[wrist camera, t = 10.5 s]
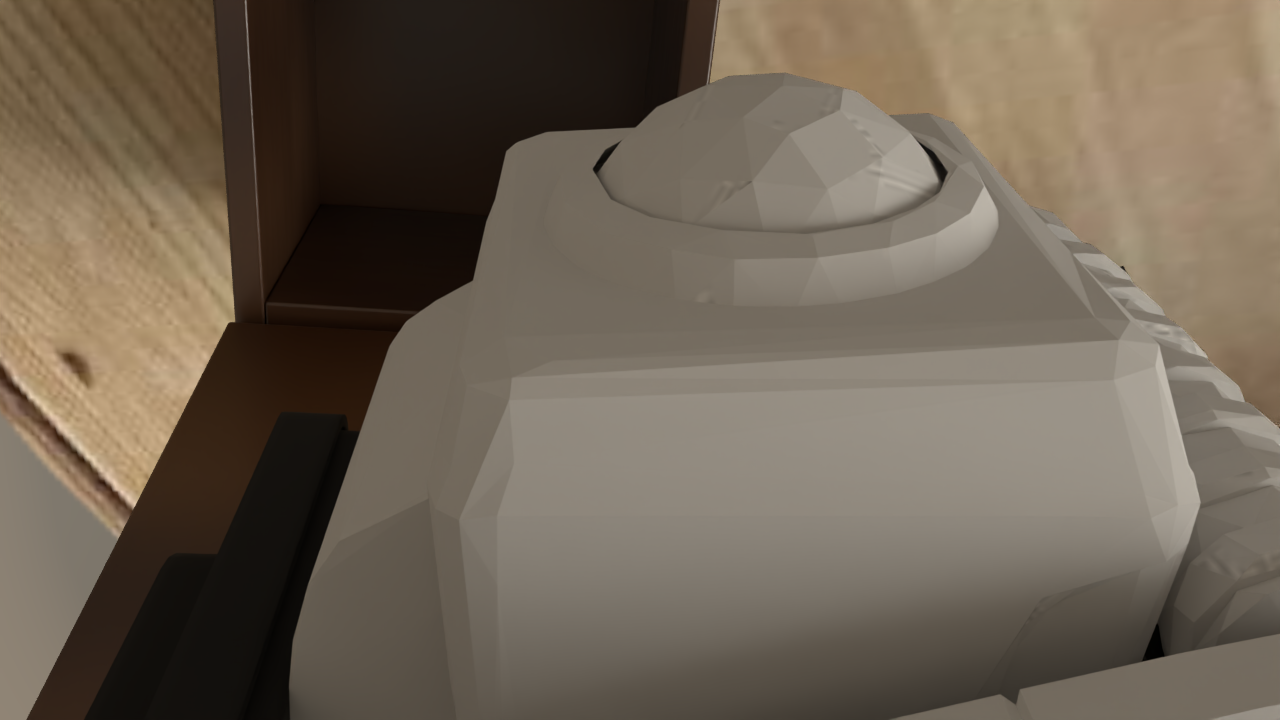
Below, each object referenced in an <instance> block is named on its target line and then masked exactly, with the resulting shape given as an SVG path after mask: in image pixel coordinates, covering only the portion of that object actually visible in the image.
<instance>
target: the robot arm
mask: <svg viewBox="0 0 1280 720" xmlns="http://www.w3.org/2000/svg"><path fill="white" fill-rule="evenodd" d="M359 434H360V431H351V430H349V428H348V421H347V417H346V415H345V414H327V413H306V412H285V411H284V412H281V413H280V415H279V417H278V418H277V421H276V423H275V425H274V427H273V430H272V432H271V434H270V436H269V439H268V441H267V443H266V445H265V448H264V450H263V452H262V454H261V457H260V459H259V461H258V463H257V466H256V468H255V470H254V472H253V475H252V477H251V479H250V481H249V484H248V486H247V488H246V491H245V493H244V495H243V497H242V500H241V502H240V504H239V506H238V509H237V511H236V513H235V515H234V518H233V520H232V522H231V524H230V527H229V529H228V531H227V533H226V536H225V538H224V540H223V542H222V545H221V547H220V549H219V551H218V554H195V553H175V554H173V555H171V556H169V557H168V558H167V560H166V561H165V563H164V564H163V566H162V567H161V569H160V571H159V573H158V575H157V577H156V579H155V581H154V583H153V585H152V587H151V589H150V590H149V592H148V594H147V596H146V598H145V600H144V602H143V604H142V606H141V608H140V610H139V612H138V614H137V616H136V618H135V620H134V622H133V624H132V626H131V628H130V630H129V632H128V634H127V636H126V638H125V640H124V642H123V644H122V646H121V648H120V650H119V652H118V653H117V655H116V657H115V659H114V661H113V663H112V665H111V667H110V669H109V671H108V673H107V675H106V677H105V679H104V681H103V683H102V685H101V687H100V689H99V691H98V693H97V695H96V697H95V699H94V701H93V703H92V705H91V707H90V709H89V711H88V713H87V715H86V716H85V718H84V720H290V699H289V680H290V668H291V657H292V645H293V638H294V634H295V631H296V627H297V623H298V620H299V616H300V612H301V609H302V605H303V601H304V598H305V594H306V590H307V587H308V584H309V581H310V578H311V575H312V572H313V569H314V566H315V563H316V560H317V557H318V554H319V551H320V548H321V545H322V543H323V540H324V537H325V534H326V531H327V528H328V525H329V522H330V519H331V516H332V513H333V510H334V507H335V504H336V501H337V499H338V496H339V493H340V490H341V487H342V484H343V481H344V478H345V475H346V472H347V469H348V466H349V463H350V460H351V457H352V455H353V452H354V449H355V446H356V443H357V440H358V437H359ZM1142 662H1144V660H1143V659H1142Z"/></svg>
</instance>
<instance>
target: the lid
mask: <svg viewBox="0 0 1280 720" xmlns="http://www.w3.org/2000/svg"><path fill="white" fill-rule="evenodd" d="M398 333H399V332H387V331H370V330H353V329H337V328H320V327H303V326H287V325H270V324H253V323H237V322H229V323H228V325H227V327H226V329H225V331H224V333H223V335H222V337H221V339H220V340H219V342H218V344H217V346H216V348H215V350H214V352H213V354H212V356H211V358H210V360H209V362H208V364H207V366H206V368H205V370H204V372H203V374H202V376H201V378H200V380H199V382H198V384H197V386H196V388H195V390H194V392H193V394H192V395H191V397H190V399H189V401H188V403H187V405H186V407H185V409H184V411H183V413H182V415H181V417H180V419H179V421H178V423H177V425H176V427H175V429H174V431H173V433H172V435H171V437H170V439H169V441H168V443H167V445H166V447H165V449H164V450H163V452H162V454H161V456H160V458H159V460H158V462H157V464H156V466H155V468H154V470H153V472H152V474H151V476H150V478H149V480H148V482H147V484H146V486H145V488H144V490H143V492H142V494H141V496H140V498H139V500H138V502H137V504H136V506H135V507H134V509H133V511H132V513H131V515H130V517H129V519H128V521H127V523H126V525H125V527H124V529H123V531H122V533H121V535H120V537H119V539H118V541H117V543H116V545H115V547H114V549H113V551H112V553H111V555H110V557H109V559H108V561H107V562H106V564H105V566H104V569H103V570H102V573H101V574H100V576H99V578H98V580H97V582H96V584H95V586H94V588H93V590H92V592H91V594H90V596H89V598H88V600H87V602H86V604H85V606H84V608H83V610H82V612H81V614H80V616H79V617H78V620H77V622H76V624H75V625H74V627H73V629H72V631H71V633H70V635H69V637H68V639H67V641H66V643H65V645H64V647H63V649H62V651H61V653H60V655H59V657H58V659H57V661H56V663H55V665H54V667H53V669H52V671H51V673H50V675H49V676H48V679H47V680H46V683H45V685H44V686H43V688H42V690H41V692H40V694H39V696H38V698H37V700H36V702H35V704H34V706H33V708H32V710H31V712H30V714H29V716H28V718H27V720H84V718H85V716H86V715H87V713H88V711H89V709H90V707H91V705H92V703H93V701H94V699H95V697H96V695H97V693H98V691H99V689H100V687H101V685H102V683H103V681H104V679H105V677H106V675H107V673H108V671H109V669H110V667H111V665H112V663H113V661H114V659H115V657H116V655H117V653H118V652H119V650H120V648H121V646H122V644H123V642H124V640H125V638H126V636H127V634H128V632H129V630H130V628H131V626H132V624H133V622H134V620H135V618H136V616H137V614H138V612H139V610H140V608H141V606H142V604H143V602H144V600H145V598H146V596H147V594H148V592H149V590H150V589H151V587H152V585H153V583H154V581H155V579H156V577H157V575H158V573H159V571H160V569H161V567H162V566H163V564H164V563H165V561H166V560H167V558H168V557H169V556H171V555H173V554H175V553H195V554H218V551H219V549H220V547H221V545H222V542H223V540H224V538H225V536H226V533H227V531H228V529H229V527H230V524H231V522H232V520H233V518H234V515H235V513H236V511H237V509H238V506H239V504H240V502H241V500H242V497H243V495H244V493H245V491H246V488H247V486H248V484H249V481H250V479H251V477H252V475H253V472H254V470H255V468H256V466H257V463H258V461H259V459H260V457H261V454H262V452H263V450H264V448H265V445H266V443H267V441H268V439H269V436H270V434H271V432H272V430H273V427H274V425H275V423H276V421H277V418H278V417H279V415H280V413H281V412H284V411H285V412H306V413H327V414H345V415H346V417H347V421H348V428H349V430H351V431H361V428H362V425H363V422H364V419H365V416H366V413H367V411H368V408H369V405H370V402H371V399H372V396H373V393H374V390H375V387H376V384H377V381H378V378H379V375H380V372H381V370H382V367H383V364H384V361H385V358H386V355H387V352H388V349H389V346H390V344H391V343H392V342H393V340H394V339H395V337H396V336H397V334H398Z"/></svg>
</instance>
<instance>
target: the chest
mask: <svg viewBox="0 0 1280 720" xmlns="http://www.w3.org/2000/svg"><path fill="white" fill-rule="evenodd" d="M719 4H720V0H213V5H214V20H215V34H216V49H217V63H218V78H219V92H220V107H221V121H222V136H223V150H224V164H225V179H226V193H227V208H228V222H229V237H230V251H231V266H232V280H233V295H234V309H235V322H237V323H253V324H270V325H287V326H303V327H320V328H337V329H353V330H370V331H387V332H399V331H400V330H401V328H402V327H403V325H404V324H405V323H406V321H408V320H409V319H410V318H412V317H413V316H415V315H416V314H418V313H419V312H420V311H422V310H423V309H425V308H426V307H428V306H429V305H431V304H432V303H433V302H435V301H436V300H438V299H440V298H442V297H444V296H446V295H447V294H449V293H451V292H453V291H455V290H457V289H459V288H460V287H462V286H464V285H466V284H468V283H470V282H471V281H473V279H474V274H475V270H476V265H477V261H478V257H479V252H480V248H481V243H482V239H483V234H484V230H485V226H486V221H487V219H488V216H489V214H490V211H491V209H492V206H493V203H494V201H495V198H496V194H497V189H498V185H499V181H500V176H501V172H502V168H503V163H504V159H505V155H506V151H507V150H508V149H510V148H511V147H512V146H513V145H514V144H515V143H517V142H519V141H522V140H525V139H528V138H531V137H534V136H537V135H540V134H542V133H545V132H557V131H578V130H598V129H618V128H636V127H637V126H638V125H639V124H640V123H641V122H642V121H643V120H644V119H645V118H646V117H647V116H648V115H649V114H650V113H651V112H652V111H653V110H654V109H655V108H656V107H658V106H660V105H663V104H665V103H667V102H669V101H671V100H674V99H676V98H678V97H680V96H683V95H685V94H687V93H689V92H692V91H694V90H696V89H698V88H701V87H703V86H705V85H708V84H709V82H710V75H711V67H712V59H713V51H714V43H715V36H716V28H717V20H718V12H719Z"/></svg>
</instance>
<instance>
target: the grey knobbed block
mask: <svg viewBox="0 0 1280 720" xmlns="http://www.w3.org/2000/svg"><path fill="white" fill-rule="evenodd" d="M1142 659H1143V660H1144V662H1142ZM289 699H290V720H1280V428H1279V427H1278V426H1276V425H1275V424H1274V423H1273V422H1272V421H1271V420H1269V419H1268V418H1267V417H1266V416H1265V415H1264V414H1262V413H1261V412H1260V411H1259V410H1258V409H1257V408H1255V407H1254V406H1253V405H1252V404H1251V403H1246V402H1245V400H1244V398H1243V395H1242V393H1241V390H1240V387H1239V386H1238V385H1237V384H1236V383H1235V382H1234V381H1232V380H1231V379H1230V378H1229V377H1228V376H1227V375H1225V374H1224V373H1223V372H1222V371H1221V370H1219V369H1218V368H1217V367H1216V366H1215V365H1213V364H1212V363H1211V362H1210V361H1209V360H1208V358H1207V355H1206V354H1205V353H1204V352H1203V350H1202V349H1201V348H1200V347H1199V346H1198V345H1197V344H1196V343H1195V342H1194V341H1193V340H1192V338H1191V337H1190V336H1189V335H1188V334H1187V333H1186V332H1185V331H1184V330H1183V329H1182V328H1181V327H1180V326H1179V325H1177V324H1176V323H1174V322H1173V321H1171V320H1170V319H1169V318H1167V317H1166V316H1165V314H1164V311H1163V309H1162V308H1161V307H1160V306H1159V305H1158V304H1157V303H1156V302H1155V301H1153V300H1152V299H1151V298H1150V297H1149V296H1148V295H1146V294H1145V293H1144V292H1143V291H1142V290H1141V289H1140V288H1138V287H1137V286H1136V285H1135V284H1134V283H1133V282H1132V280H1131V278H1130V276H1129V275H1128V274H1127V272H1126V270H1125V268H1124V266H1121V267H1119V266H1118V265H1117V264H1115V263H1114V262H1113V261H1112V260H1110V259H1109V258H1108V257H1107V256H1106V255H1105V254H1103V253H1102V252H1101V251H1099V250H1098V249H1097V248H1095V247H1094V246H1092V245H1091V244H1087V243H1082V242H1081V241H1080V240H1079V239H1078V238H1077V237H1076V235H1075V234H1074V233H1073V232H1072V231H1071V230H1070V229H1069V228H1068V227H1067V226H1066V225H1065V224H1064V223H1063V222H1062V221H1061V220H1060V219H1059V218H1058V217H1057V216H1056V215H1055V214H1054V213H1053V212H1049V211H1046V210H1043V209H1039V208H1036V207H1033V206H1030V205H1028V204H1027V203H1026V202H1025V201H1024V200H1023V199H1022V198H1021V197H1020V195H1019V194H1018V193H1017V192H1016V191H1015V190H1014V189H1013V188H1012V187H1011V186H1010V184H1009V183H1008V182H1007V181H1006V180H1005V179H1004V178H1003V177H1002V176H1001V175H1000V173H999V172H998V171H997V170H996V169H995V168H994V167H993V166H992V165H991V163H990V162H989V161H988V160H987V159H986V158H985V157H984V156H983V155H982V154H981V152H980V151H979V150H978V149H977V148H976V147H975V146H974V145H973V144H972V143H971V141H970V140H969V139H968V138H967V137H966V136H965V135H964V134H963V133H962V132H961V130H960V129H959V128H958V127H957V126H956V125H955V124H954V123H953V122H951V121H948V120H945V119H943V118H940V117H937V116H934V115H932V114H929V113H923V114H903V115H887V114H886V113H884V112H883V111H882V110H880V109H879V108H878V107H877V106H875V105H874V104H873V103H871V102H870V101H869V100H867V99H866V98H865V97H863V96H862V95H861V94H859V93H858V92H857V91H854V90H850V89H846V88H842V87H838V86H834V85H830V84H826V83H823V82H819V81H815V80H811V79H807V78H803V77H799V76H795V75H792V74H788V73H772V74H755V75H738V76H727V77H725V78H722V79H720V80H718V81H715V82H713V83H710V84H708V85H705V86H703V87H701V88H698V89H696V90H694V91H692V92H689V93H687V94H685V95H683V96H680V97H678V98H676V99H674V100H671V101H669V102H667V103H665V104H663V105H660V106H658V107H656V108H655V109H654V110H653V111H652V112H651V113H650V114H649V115H648V116H647V117H646V118H645V119H644V120H643V121H642V122H641V123H640V124H639V125H638V126H637V127H636V128H618V129H598V130H578V131H557V132H545V133H542V134H540V135H537V136H534V137H531V138H528V139H525V140H522V141H519V142H517V143H515V144H514V145H513V146H512V147H511V148H510V149H508V150H507V151H506V155H505V159H504V163H503V168H502V172H501V176H500V181H499V185H498V189H497V194H496V198H495V201H494V203H493V206H492V209H491V211H490V214H489V216H488V219H487V221H486V226H485V230H484V234H483V239H482V243H481V248H480V252H479V257H478V261H477V265H476V270H475V274H474V279H473V281H471V282H470V283H468V284H466V285H464V286H462V287H460V288H459V289H457V290H455V291H453V292H451V293H449V294H447V295H446V296H444V297H442V298H440V299H438V300H436V301H435V302H433V303H432V304H431V305H429V306H428V307H426V308H425V309H423V310H422V311H420V312H419V313H418V314H416V315H415V316H413V317H412V318H410V319H409V320H408V321H406V323H405V324H404V325H403V327H402V328H401V330H400V331H399V333H398V334H397V336H396V337H395V339H394V340H393V342H392V343H391V344H390V346H389V349H388V352H387V355H386V358H385V361H384V364H383V367H382V370H381V372H380V375H379V378H378V381H377V384H376V387H375V390H374V393H373V396H372V399H371V402H370V405H369V408H368V411H367V413H366V416H365V419H364V422H363V425H362V428H361V431H360V434H359V437H358V440H357V443H356V446H355V449H354V452H353V455H352V457H351V460H350V463H349V466H348V469H347V472H346V475H345V478H344V481H343V484H342V487H341V490H340V493H339V496H338V499H337V501H336V504H335V507H334V510H333V513H332V516H331V519H330V522H329V525H328V528H327V531H326V534H325V537H324V540H323V543H322V545H321V548H320V551H319V554H318V557H317V560H316V563H315V566H314V569H313V572H312V575H311V578H310V581H309V584H308V587H307V590H306V594H305V598H304V601H303V605H302V609H301V612H300V616H299V620H298V623H297V627H296V631H295V634H294V638H293V645H292V657H291V668H290V680H289Z"/></svg>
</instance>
